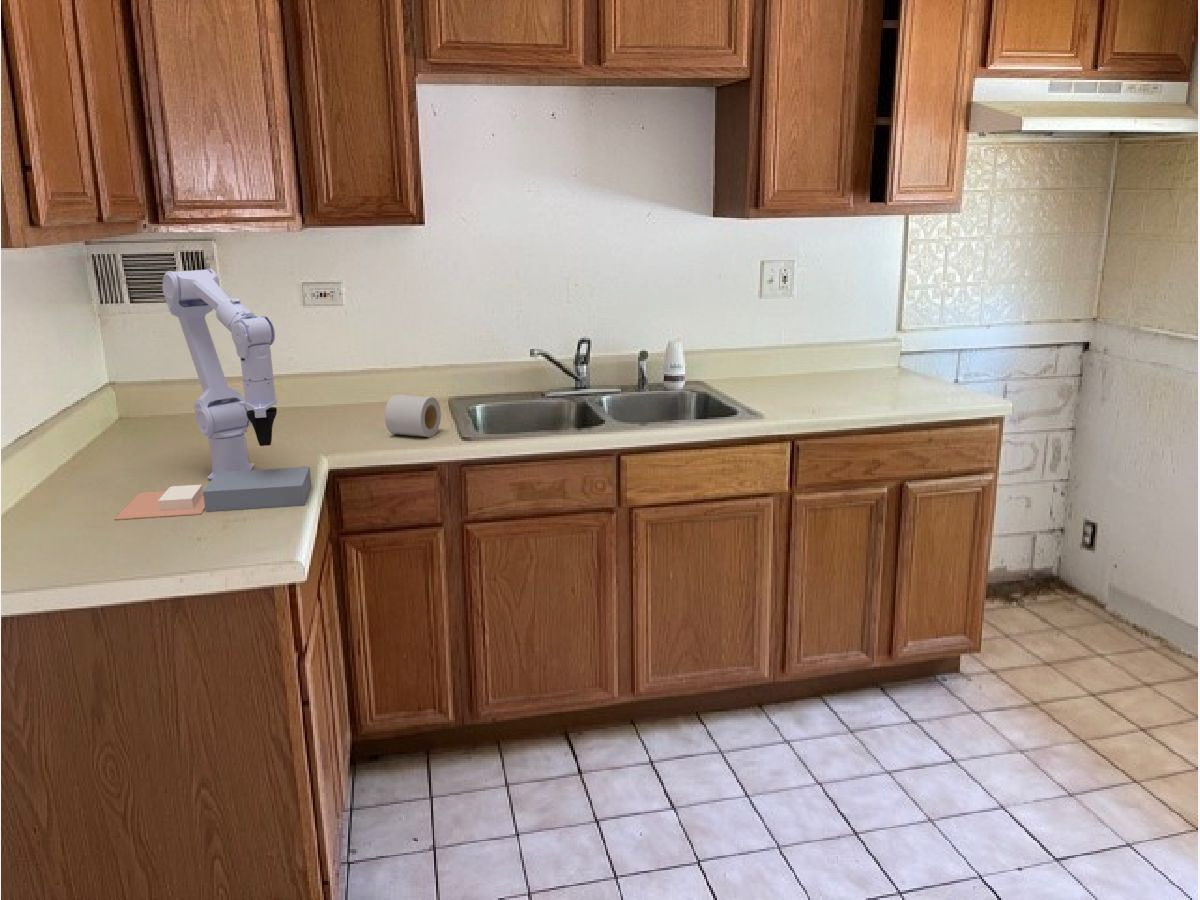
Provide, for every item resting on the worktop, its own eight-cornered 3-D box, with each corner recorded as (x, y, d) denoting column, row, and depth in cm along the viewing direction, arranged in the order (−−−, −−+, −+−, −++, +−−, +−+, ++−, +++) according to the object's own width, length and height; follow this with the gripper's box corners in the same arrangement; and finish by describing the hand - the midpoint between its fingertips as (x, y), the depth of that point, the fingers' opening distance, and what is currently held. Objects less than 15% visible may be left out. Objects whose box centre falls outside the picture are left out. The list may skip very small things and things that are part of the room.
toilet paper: (386, 438, 223) (383, 399, 220) (407, 428, 232) (404, 391, 230) (422, 441, 220) (419, 401, 217) (441, 431, 229) (439, 393, 226)
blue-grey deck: (219, 490, 183) (217, 472, 182) (311, 485, 186) (309, 466, 185) (205, 511, 171) (202, 491, 169) (304, 505, 174) (302, 485, 173)
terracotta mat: (140, 493, 181) (139, 492, 181) (218, 488, 184) (218, 487, 184) (115, 520, 166) (114, 519, 166) (201, 514, 169) (200, 513, 169)
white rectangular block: (202, 484, 180) (203, 494, 180) (170, 486, 179) (171, 496, 179) (191, 498, 171) (193, 508, 172) (157, 500, 170) (159, 510, 171)
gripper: (238, 373, 183) (245, 437, 187) (234, 387, 170) (242, 455, 173) (274, 371, 185) (281, 435, 189) (274, 384, 172) (281, 452, 176)
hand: (265, 444), depth 181 cm, fingers closed
